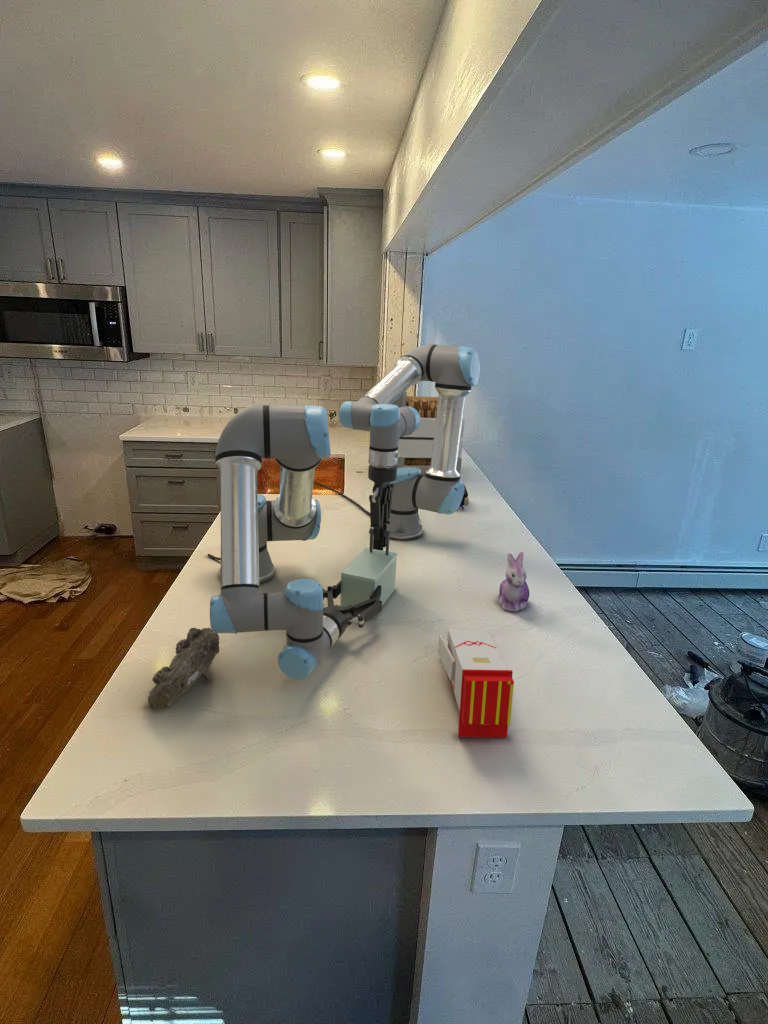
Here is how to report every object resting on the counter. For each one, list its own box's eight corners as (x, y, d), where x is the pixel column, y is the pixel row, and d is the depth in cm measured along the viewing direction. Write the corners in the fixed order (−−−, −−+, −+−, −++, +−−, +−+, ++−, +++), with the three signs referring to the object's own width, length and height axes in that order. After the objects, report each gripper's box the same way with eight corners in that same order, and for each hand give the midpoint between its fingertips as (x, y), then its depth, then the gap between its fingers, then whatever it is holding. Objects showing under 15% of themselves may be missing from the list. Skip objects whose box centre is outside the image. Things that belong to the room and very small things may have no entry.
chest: (364, 583, 163) (365, 551, 160) (394, 589, 160) (396, 557, 157) (340, 611, 148) (341, 576, 144) (373, 618, 145) (374, 583, 141)
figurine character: (468, 514, 225) (463, 498, 239) (470, 497, 222) (465, 482, 235) (451, 514, 225) (447, 498, 238) (453, 497, 222) (449, 481, 235)
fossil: (174, 630, 128) (220, 599, 123) (204, 658, 131) (250, 629, 126) (125, 701, 108) (178, 668, 103) (161, 733, 111) (215, 702, 106)
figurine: (511, 616, 149) (518, 564, 143) (487, 598, 157) (493, 549, 152) (539, 609, 153) (547, 558, 148) (514, 592, 161) (521, 544, 156)
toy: (488, 613, 130) (523, 677, 101) (484, 667, 133) (517, 744, 104) (435, 612, 130) (455, 676, 101) (432, 666, 133) (451, 743, 103)
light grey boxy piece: (382, 463, 289) (386, 382, 275) (445, 464, 293) (451, 384, 279) (390, 482, 257) (394, 392, 243) (460, 483, 261) (468, 394, 247)
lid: (366, 550, 160) (367, 524, 157) (397, 556, 157) (398, 529, 155) (341, 576, 144) (341, 547, 142) (374, 583, 141) (376, 553, 139)
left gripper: (281, 633, 131) (323, 591, 151) (370, 654, 125) (401, 607, 145) (281, 604, 129) (323, 565, 149) (371, 624, 122) (402, 581, 142)
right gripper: (387, 473, 140) (383, 560, 148) (405, 460, 153) (400, 540, 161) (359, 469, 142) (356, 555, 150) (379, 456, 155) (375, 536, 163)
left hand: (361, 586), depth 147 cm, fingers closed on chest, 9 cm apart
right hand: (379, 547), depth 156 cm, fingers closed on lid, 2 cm apart
